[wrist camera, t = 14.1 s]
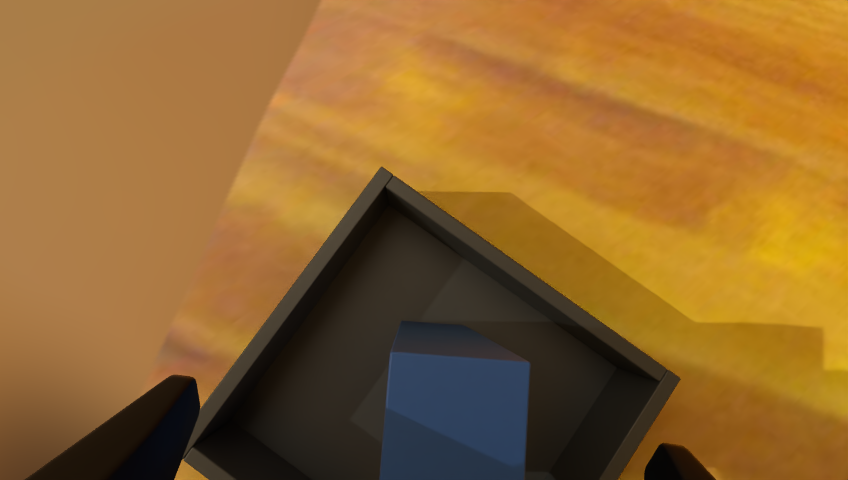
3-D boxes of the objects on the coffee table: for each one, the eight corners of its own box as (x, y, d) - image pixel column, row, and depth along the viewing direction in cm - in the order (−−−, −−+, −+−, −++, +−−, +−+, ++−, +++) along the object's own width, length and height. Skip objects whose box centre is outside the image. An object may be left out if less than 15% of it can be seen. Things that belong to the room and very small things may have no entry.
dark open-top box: (629, 362, 23) (681, 378, 19) (470, 609, 22) (486, 689, 18) (386, 189, 24) (381, 165, 20) (216, 419, 23) (168, 450, 18)
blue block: (465, 325, 23) (531, 361, 10) (455, 471, 22) (513, 697, 10) (401, 320, 23) (390, 351, 10) (389, 467, 22) (361, 688, 10)
